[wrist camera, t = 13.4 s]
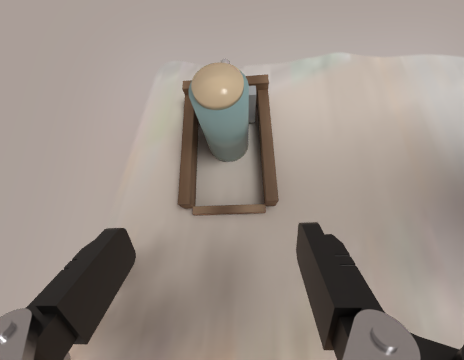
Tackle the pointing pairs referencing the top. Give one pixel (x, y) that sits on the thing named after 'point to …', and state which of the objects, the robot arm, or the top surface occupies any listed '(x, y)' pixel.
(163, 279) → the top surface
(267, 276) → the top surface
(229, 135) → the jar
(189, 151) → the brown rectangular open frame
